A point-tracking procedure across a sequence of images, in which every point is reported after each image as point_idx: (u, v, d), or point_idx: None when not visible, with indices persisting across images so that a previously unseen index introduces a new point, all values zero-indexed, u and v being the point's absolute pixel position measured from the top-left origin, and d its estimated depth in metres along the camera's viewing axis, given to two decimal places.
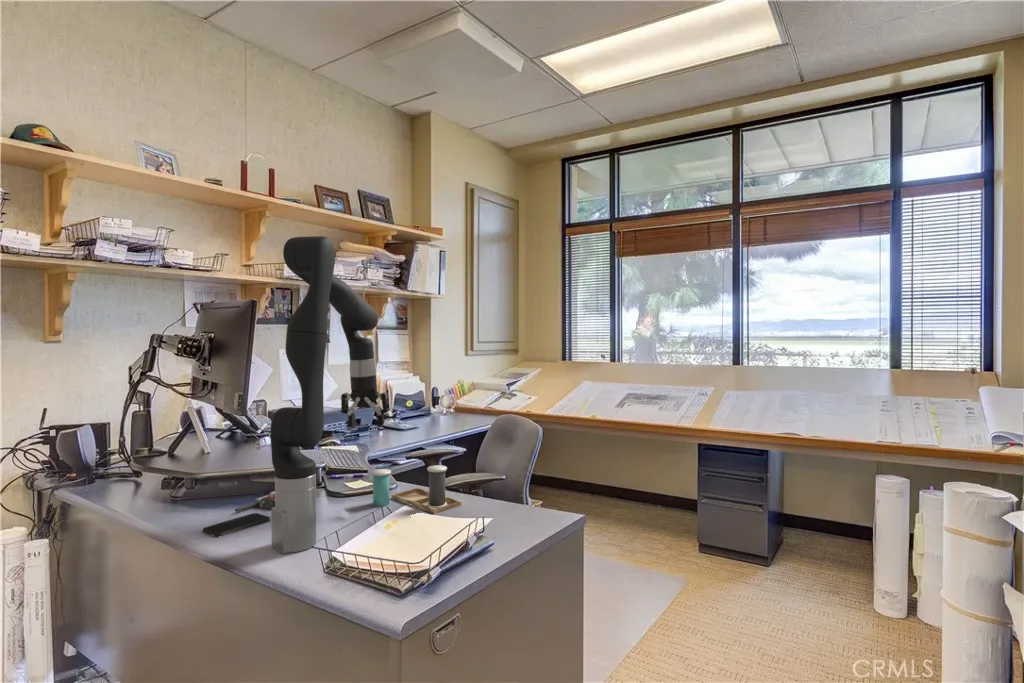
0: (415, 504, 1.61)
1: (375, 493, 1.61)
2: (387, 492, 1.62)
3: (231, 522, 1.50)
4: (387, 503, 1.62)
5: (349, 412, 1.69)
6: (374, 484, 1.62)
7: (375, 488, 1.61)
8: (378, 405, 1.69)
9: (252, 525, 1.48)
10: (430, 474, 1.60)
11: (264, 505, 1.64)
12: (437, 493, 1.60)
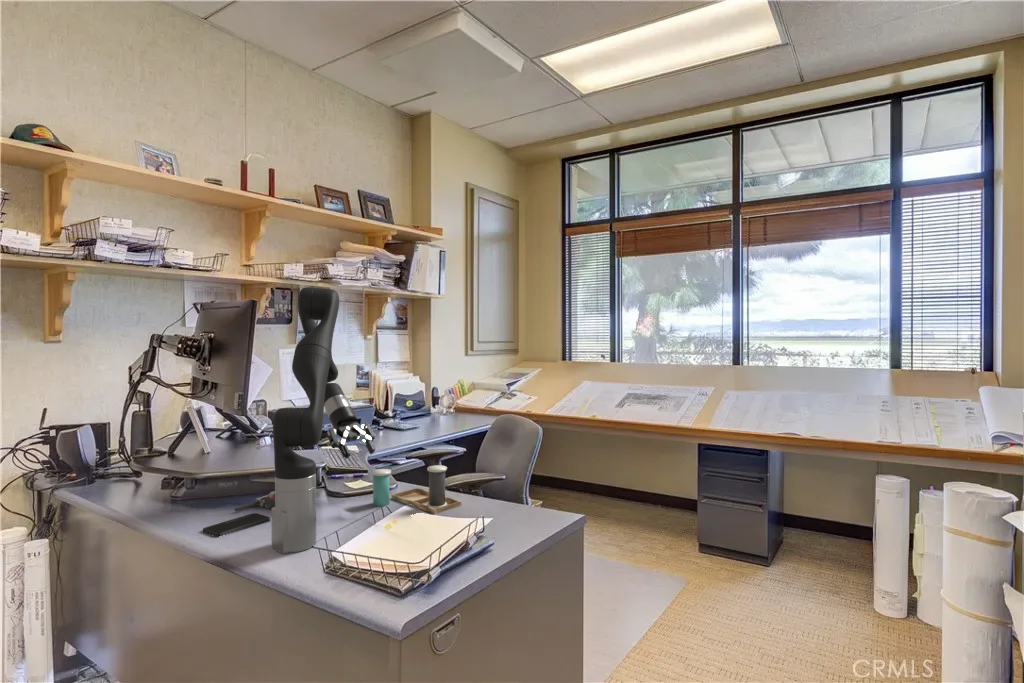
0: (415, 504, 1.61)
1: (375, 493, 1.61)
2: (387, 492, 1.62)
3: (231, 522, 1.50)
4: (387, 503, 1.62)
5: (342, 441, 1.68)
6: (374, 484, 1.62)
7: (375, 488, 1.61)
8: None
9: (252, 525, 1.48)
10: (430, 474, 1.60)
11: (264, 505, 1.64)
12: (437, 493, 1.60)
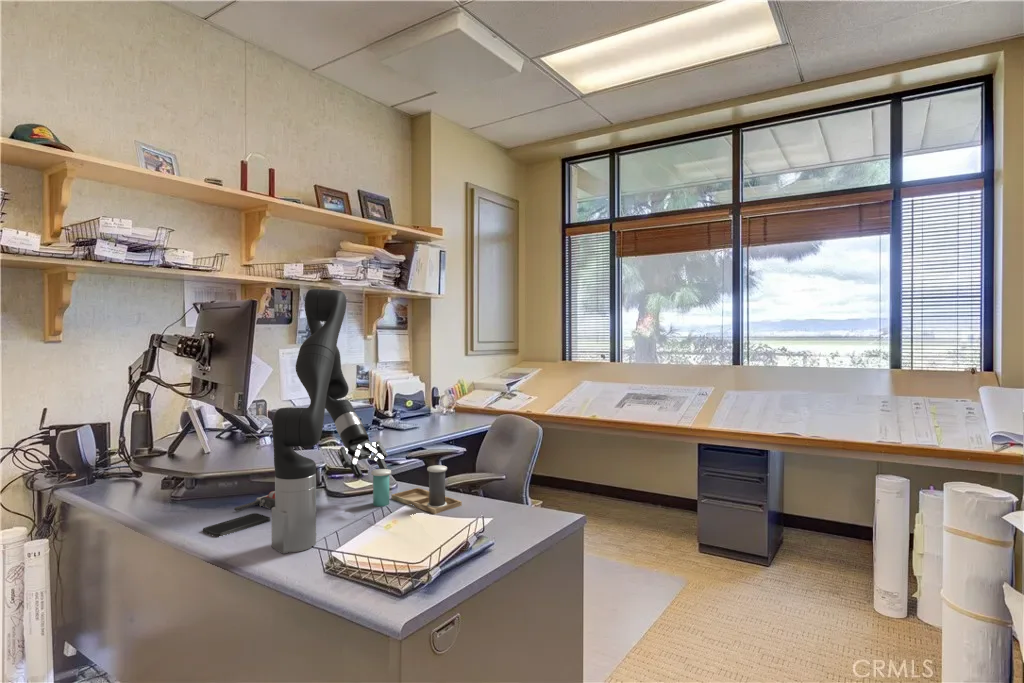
0: (415, 504, 1.61)
1: (375, 493, 1.61)
2: (387, 492, 1.62)
3: (231, 522, 1.50)
4: (387, 503, 1.62)
5: (354, 461, 1.64)
6: (374, 484, 1.62)
7: (375, 488, 1.61)
8: None
9: (252, 525, 1.48)
10: (430, 474, 1.60)
11: (264, 504, 1.65)
12: (437, 493, 1.60)
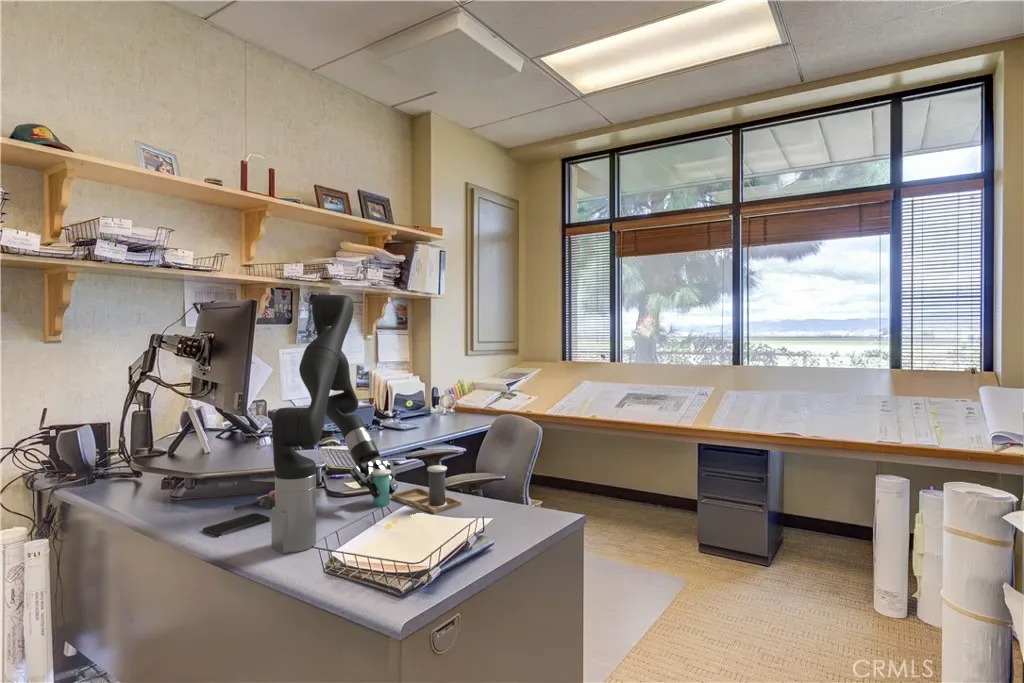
0: (415, 504, 1.61)
1: None
2: (387, 492, 1.62)
3: (231, 522, 1.50)
4: (387, 503, 1.62)
5: (371, 480, 1.61)
6: None
7: None
8: None
9: (252, 525, 1.48)
10: (430, 474, 1.60)
11: (263, 504, 1.65)
12: (437, 493, 1.60)
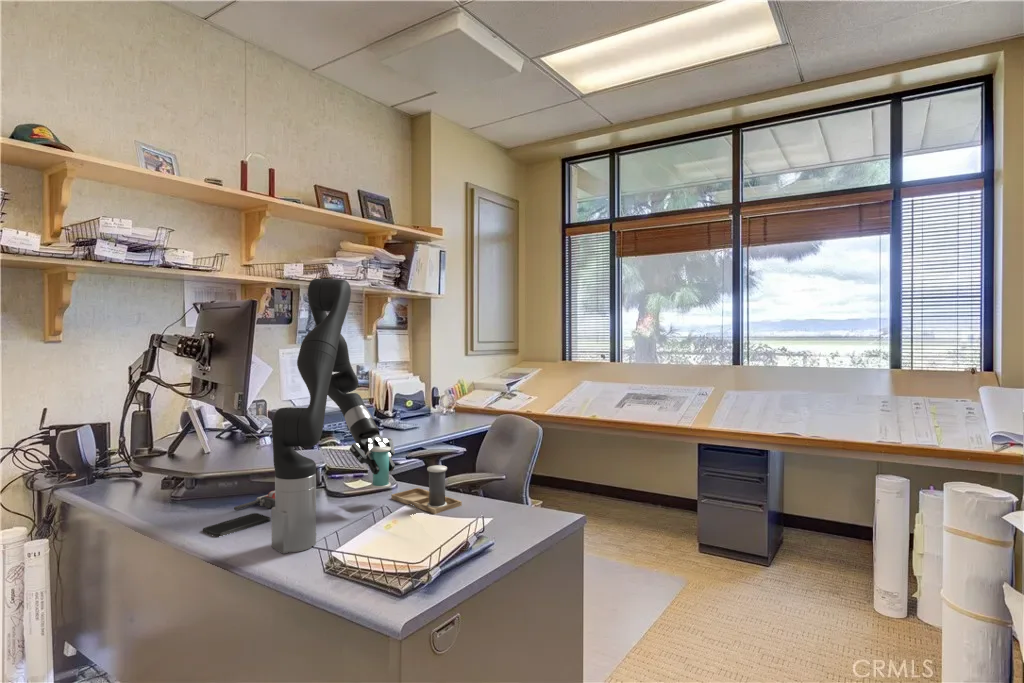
0: (415, 504, 1.61)
1: None
2: (387, 469, 1.62)
3: (231, 522, 1.50)
4: (387, 480, 1.62)
5: (370, 456, 1.61)
6: None
7: None
8: None
9: (252, 525, 1.48)
10: (430, 474, 1.60)
11: (264, 504, 1.65)
12: (437, 493, 1.60)
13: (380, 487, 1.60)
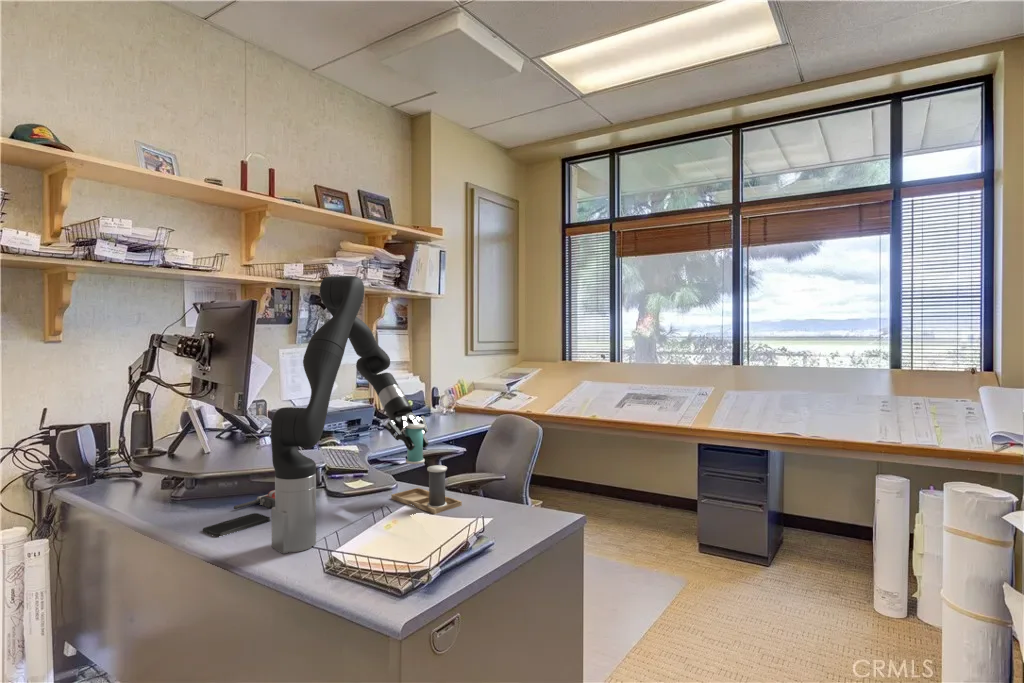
0: (415, 504, 1.61)
1: None
2: (421, 445, 1.68)
3: (231, 522, 1.50)
4: (421, 456, 1.68)
5: (406, 433, 1.67)
6: None
7: None
8: None
9: (252, 525, 1.48)
10: (430, 474, 1.60)
11: (264, 503, 1.66)
12: (437, 493, 1.60)
13: (415, 463, 1.66)
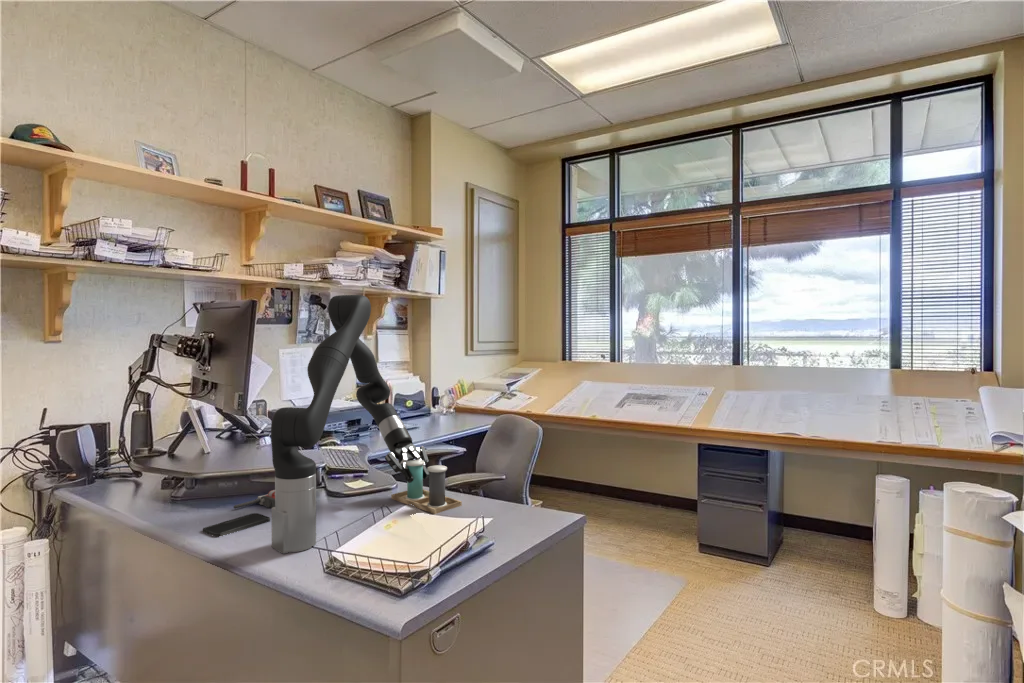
0: (415, 504, 1.61)
1: (409, 483, 1.67)
2: (421, 482, 1.68)
3: (231, 522, 1.50)
4: (421, 492, 1.68)
5: (405, 465, 1.67)
6: None
7: None
8: None
9: (252, 525, 1.48)
10: (430, 474, 1.60)
11: (264, 503, 1.66)
12: (437, 493, 1.60)
13: (415, 500, 1.66)
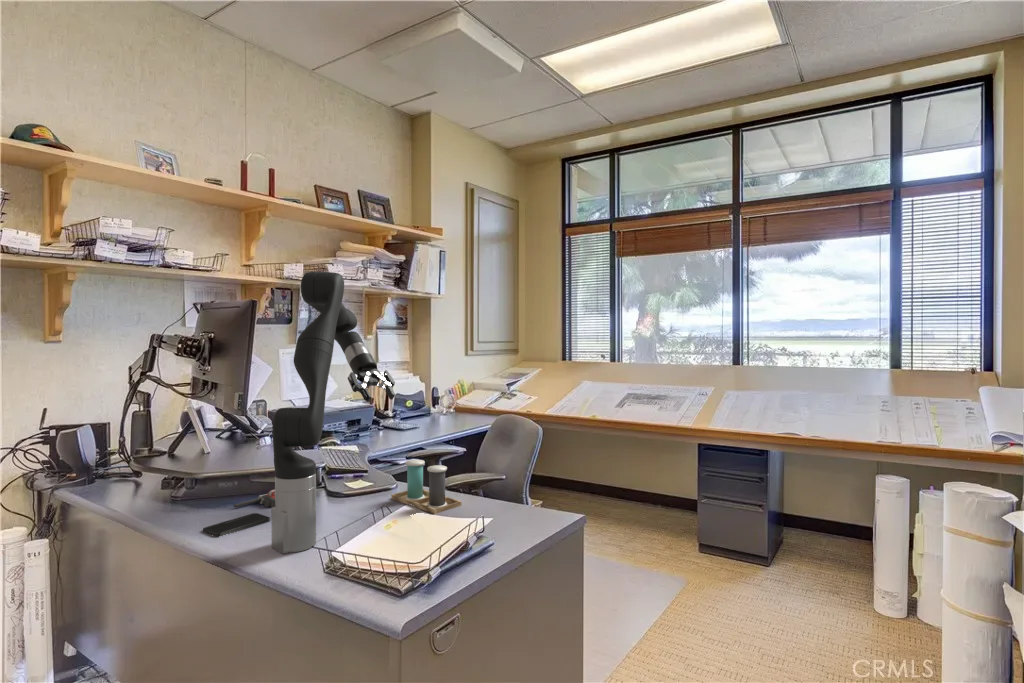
0: (415, 504, 1.61)
1: (409, 483, 1.67)
2: (421, 482, 1.68)
3: (231, 522, 1.50)
4: (421, 492, 1.68)
5: (363, 385, 1.71)
6: (408, 474, 1.67)
7: (410, 478, 1.67)
8: None
9: (252, 525, 1.48)
10: (430, 474, 1.60)
11: (264, 502, 1.67)
12: (437, 493, 1.60)
13: (415, 500, 1.66)
